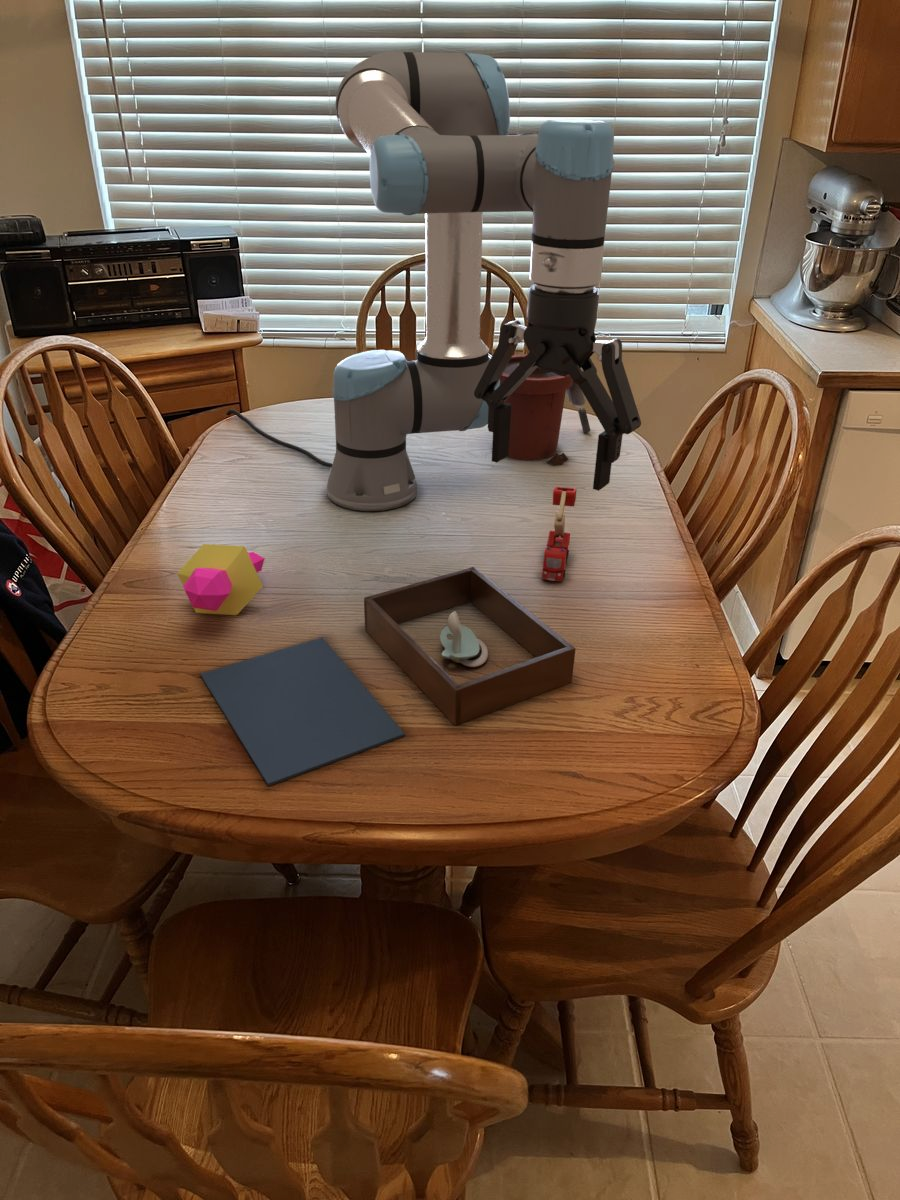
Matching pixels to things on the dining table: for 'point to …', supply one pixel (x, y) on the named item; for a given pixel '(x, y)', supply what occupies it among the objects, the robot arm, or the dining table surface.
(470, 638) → the pacifier
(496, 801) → the dining table surface
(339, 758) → the mat
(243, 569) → the toy
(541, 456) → the potted plant
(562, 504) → the toy fire truck
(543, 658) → the open box
